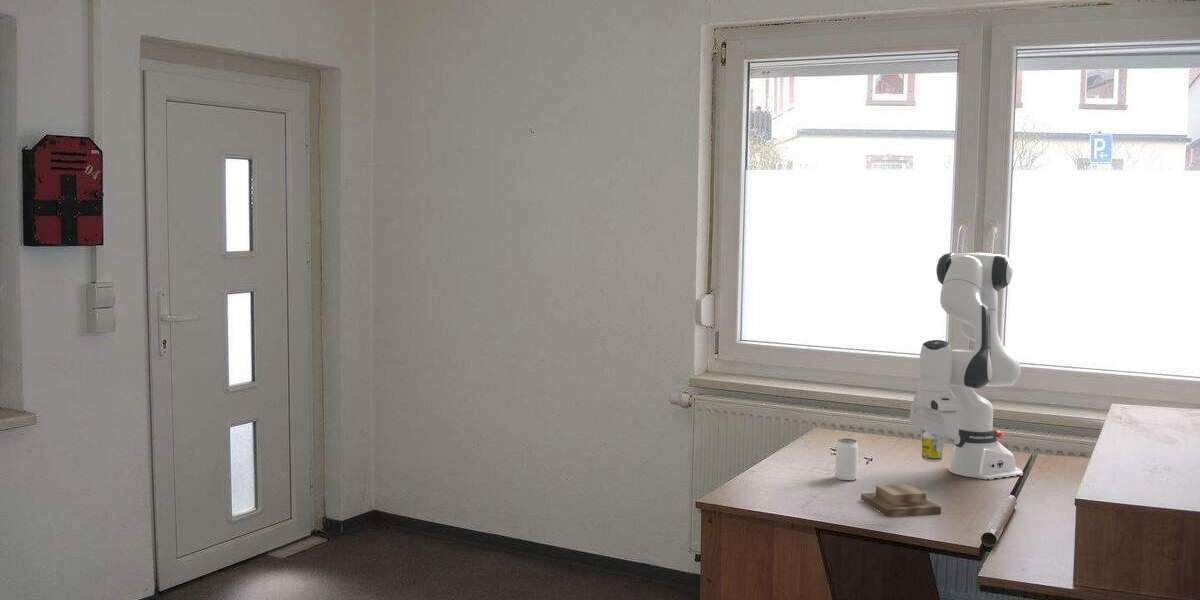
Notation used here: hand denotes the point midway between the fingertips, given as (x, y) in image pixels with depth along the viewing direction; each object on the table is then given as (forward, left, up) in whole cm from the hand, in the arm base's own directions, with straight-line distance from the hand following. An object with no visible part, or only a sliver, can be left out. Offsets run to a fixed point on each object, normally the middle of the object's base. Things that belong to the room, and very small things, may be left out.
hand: (932, 448), depth 290 cm
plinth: (+7, -4, -17) cm, 19 cm away
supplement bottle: (0, 0, -3) cm, 3 cm away
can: (+9, -35, -18) cm, 40 cm away
